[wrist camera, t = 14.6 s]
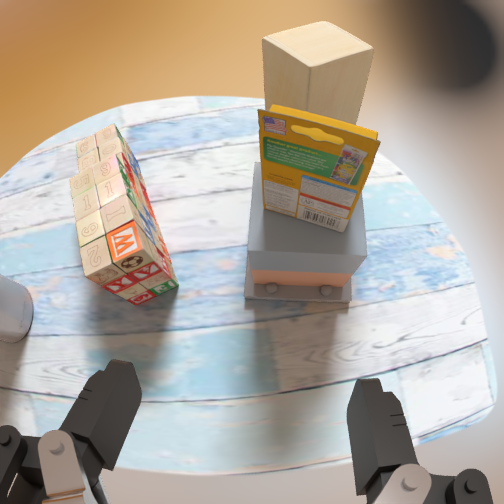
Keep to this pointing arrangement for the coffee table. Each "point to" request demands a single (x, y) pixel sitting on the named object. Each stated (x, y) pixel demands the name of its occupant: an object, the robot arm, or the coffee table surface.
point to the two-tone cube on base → (300, 254)
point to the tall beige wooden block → (316, 70)
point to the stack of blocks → (118, 221)
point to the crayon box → (313, 165)
